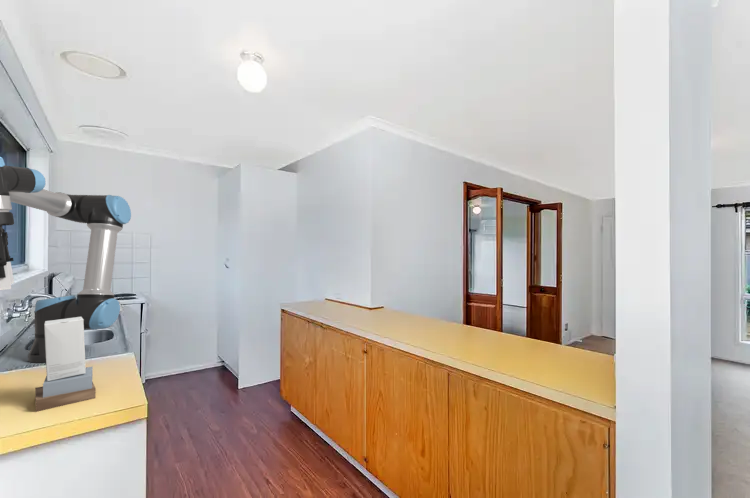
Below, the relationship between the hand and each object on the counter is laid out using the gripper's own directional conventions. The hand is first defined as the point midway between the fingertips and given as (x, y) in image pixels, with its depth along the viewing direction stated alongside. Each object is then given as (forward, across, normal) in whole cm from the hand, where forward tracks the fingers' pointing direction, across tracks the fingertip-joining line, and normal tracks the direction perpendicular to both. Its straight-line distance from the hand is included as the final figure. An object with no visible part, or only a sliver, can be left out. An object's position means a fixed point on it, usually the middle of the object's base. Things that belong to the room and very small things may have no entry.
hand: (6, 286), depth 100 cm
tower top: (+29, +15, +10) cm, 34 cm away
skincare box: (+25, +15, +9) cm, 31 cm away
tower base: (+32, +15, +8) cm, 37 cm away
